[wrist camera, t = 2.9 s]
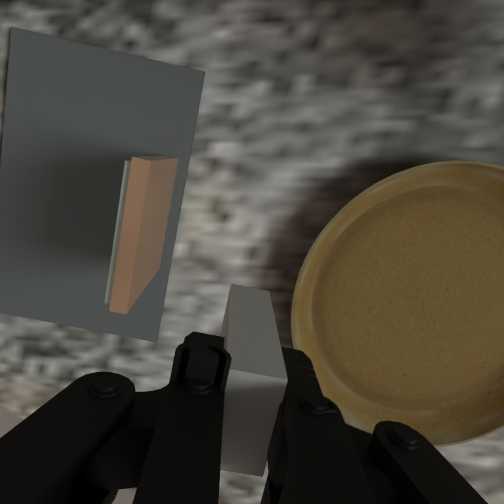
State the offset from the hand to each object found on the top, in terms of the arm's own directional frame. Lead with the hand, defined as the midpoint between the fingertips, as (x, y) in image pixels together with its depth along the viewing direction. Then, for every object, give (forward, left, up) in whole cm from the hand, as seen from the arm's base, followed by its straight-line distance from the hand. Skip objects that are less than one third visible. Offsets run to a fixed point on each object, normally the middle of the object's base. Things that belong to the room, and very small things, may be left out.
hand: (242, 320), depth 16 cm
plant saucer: (+3, +17, -19) cm, 25 cm away
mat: (0, -12, -18) cm, 22 cm away
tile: (0, -7, -18) cm, 19 cm away
